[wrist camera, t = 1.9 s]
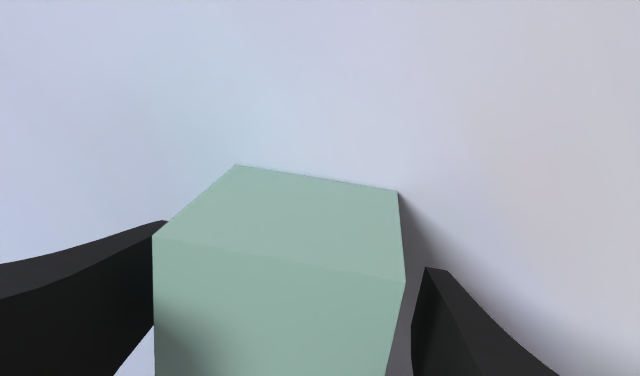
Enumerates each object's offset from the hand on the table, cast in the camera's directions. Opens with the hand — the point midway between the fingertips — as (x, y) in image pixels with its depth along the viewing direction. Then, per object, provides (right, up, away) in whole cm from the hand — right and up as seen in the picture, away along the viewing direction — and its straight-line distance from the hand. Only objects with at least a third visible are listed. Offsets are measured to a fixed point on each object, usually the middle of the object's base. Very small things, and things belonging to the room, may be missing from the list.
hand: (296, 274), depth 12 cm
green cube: (0, 0, +1) cm, 2 cm away
